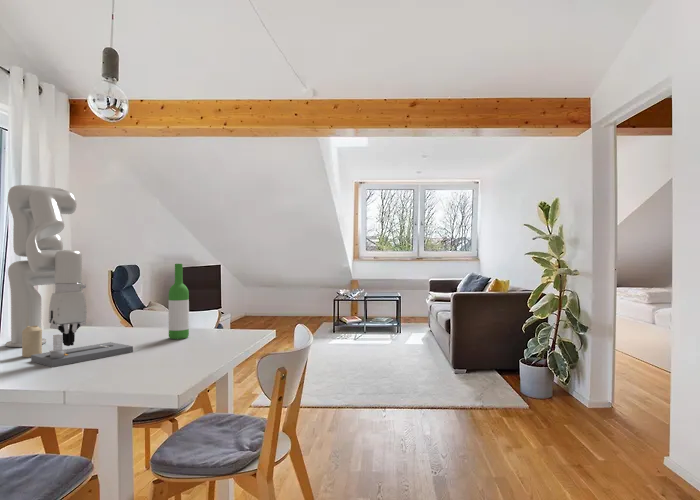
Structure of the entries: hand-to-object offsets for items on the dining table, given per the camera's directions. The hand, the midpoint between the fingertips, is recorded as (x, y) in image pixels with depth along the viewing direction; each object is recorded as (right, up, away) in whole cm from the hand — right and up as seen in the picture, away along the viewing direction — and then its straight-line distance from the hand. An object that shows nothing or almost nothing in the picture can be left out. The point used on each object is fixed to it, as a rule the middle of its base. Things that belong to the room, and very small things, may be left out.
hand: (68, 345), depth 155 cm
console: (+3, -5, +4) cm, 7 cm away
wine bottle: (+22, -5, +38) cm, 44 cm away
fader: (-2, -2, -3) cm, 4 cm away
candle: (-16, -5, +6) cm, 17 cm away
